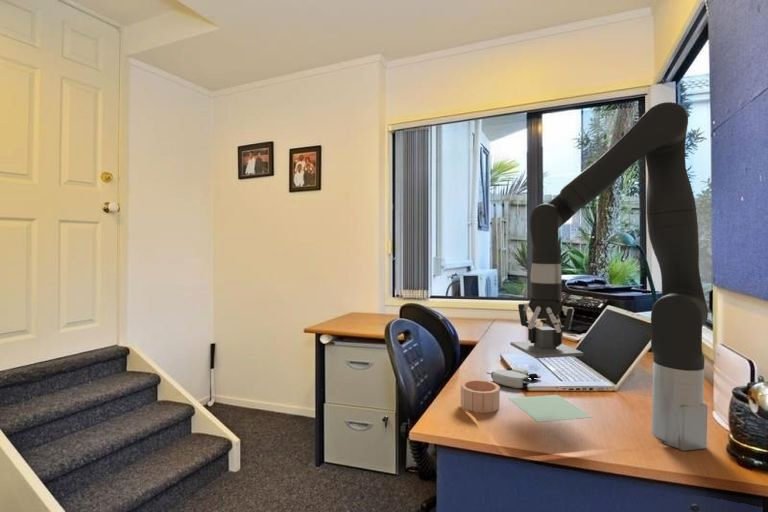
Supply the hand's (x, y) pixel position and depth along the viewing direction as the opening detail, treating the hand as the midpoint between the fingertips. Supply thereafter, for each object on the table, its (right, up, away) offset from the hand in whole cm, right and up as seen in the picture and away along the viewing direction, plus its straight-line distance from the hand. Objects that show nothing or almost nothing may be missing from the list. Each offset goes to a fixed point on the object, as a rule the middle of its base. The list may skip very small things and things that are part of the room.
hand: (544, 344), depth 108 cm
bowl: (-17, -18, +2) cm, 24 cm away
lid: (0, -2, 0) cm, 2 cm away
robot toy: (-2, -17, +20) cm, 27 cm away
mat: (+1, -18, 0) cm, 18 cm away
